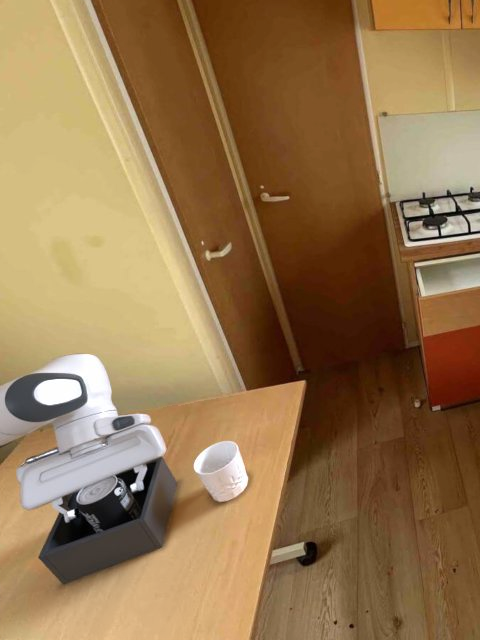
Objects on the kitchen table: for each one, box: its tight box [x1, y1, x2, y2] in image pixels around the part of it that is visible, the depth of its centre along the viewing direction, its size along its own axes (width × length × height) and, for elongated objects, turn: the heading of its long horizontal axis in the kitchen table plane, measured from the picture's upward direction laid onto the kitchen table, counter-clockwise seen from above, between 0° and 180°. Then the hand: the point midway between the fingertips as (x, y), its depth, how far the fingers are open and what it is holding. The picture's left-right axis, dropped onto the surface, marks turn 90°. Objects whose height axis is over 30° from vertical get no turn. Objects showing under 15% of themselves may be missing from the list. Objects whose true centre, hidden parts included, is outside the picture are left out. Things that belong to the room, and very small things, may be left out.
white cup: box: [192, 440, 249, 503], centre depth 90 cm, size 8×8×10 cm
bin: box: [37, 456, 178, 585], centre depth 82 cm, size 15×15×9 cm
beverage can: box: [76, 475, 142, 533], centre depth 81 cm, size 7×7×12 cm
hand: (106, 505), depth 80 cm, fingers open, 8 cm apart
